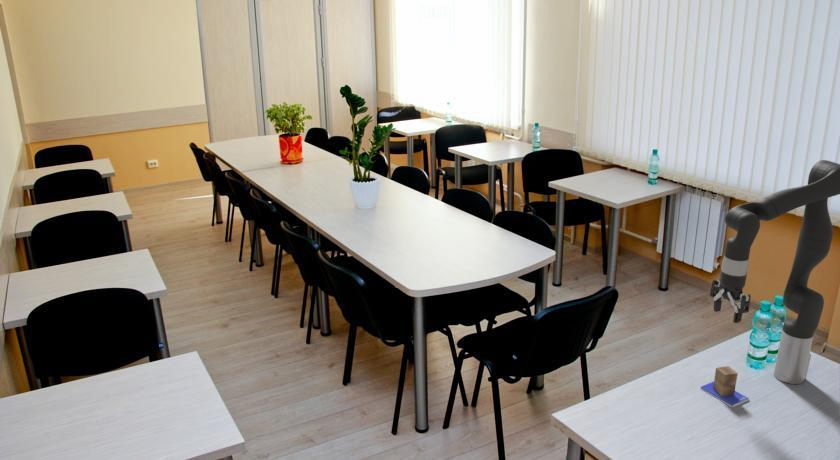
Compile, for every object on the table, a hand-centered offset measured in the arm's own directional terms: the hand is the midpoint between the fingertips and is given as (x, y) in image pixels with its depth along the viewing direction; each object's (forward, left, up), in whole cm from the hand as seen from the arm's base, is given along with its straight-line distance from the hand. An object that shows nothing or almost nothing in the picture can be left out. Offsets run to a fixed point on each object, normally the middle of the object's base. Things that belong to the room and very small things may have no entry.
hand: (726, 316), depth 222 cm
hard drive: (0, +5, -27) cm, 28 cm away
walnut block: (+1, +5, -25) cm, 26 cm away
